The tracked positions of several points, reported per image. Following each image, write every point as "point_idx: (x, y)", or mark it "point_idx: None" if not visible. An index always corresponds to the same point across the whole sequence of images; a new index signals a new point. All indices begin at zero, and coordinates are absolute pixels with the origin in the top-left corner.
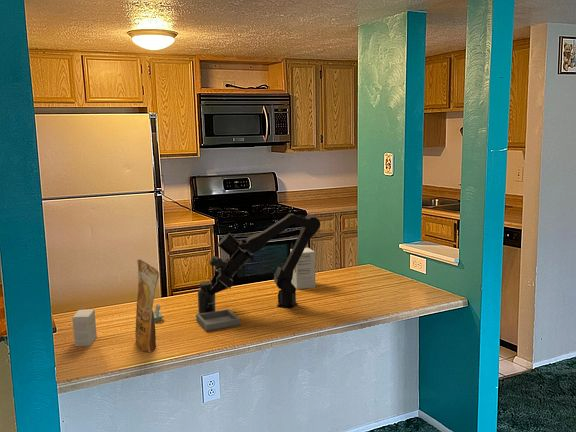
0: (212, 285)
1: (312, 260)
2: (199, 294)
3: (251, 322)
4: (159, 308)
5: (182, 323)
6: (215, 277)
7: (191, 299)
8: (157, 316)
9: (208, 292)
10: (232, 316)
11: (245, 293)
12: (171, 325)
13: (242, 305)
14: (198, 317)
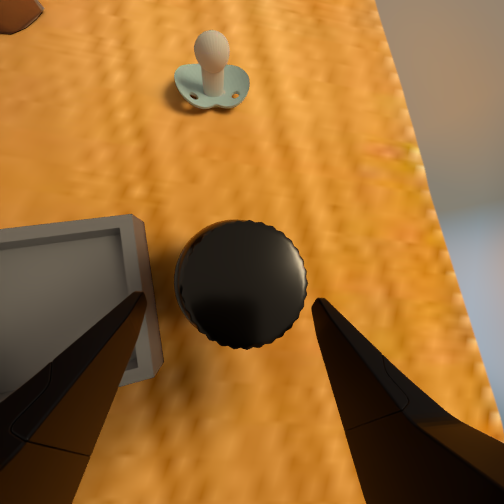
0: (322, 337)
1: None
2: (208, 226)
3: None
4: (199, 56)
5: (132, 168)
6: (385, 412)
7: (388, 237)
8: (203, 84)
9: (180, 289)
10: None
11: None
12: (125, 128)
13: (271, 433)
14: (89, 219)
